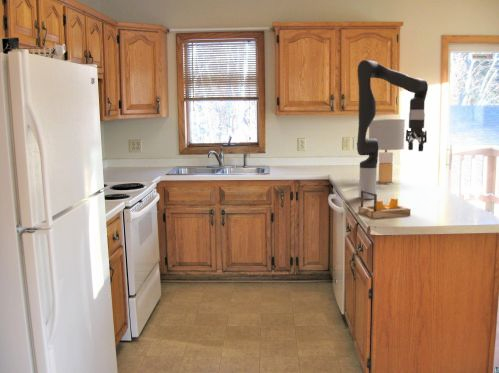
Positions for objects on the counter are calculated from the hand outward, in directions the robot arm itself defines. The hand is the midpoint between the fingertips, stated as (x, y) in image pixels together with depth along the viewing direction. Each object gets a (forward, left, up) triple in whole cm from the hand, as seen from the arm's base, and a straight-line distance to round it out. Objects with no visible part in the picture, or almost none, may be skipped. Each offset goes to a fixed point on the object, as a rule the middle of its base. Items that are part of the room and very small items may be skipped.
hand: (415, 150), depth 268 cm
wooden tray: (+15, -27, -28) cm, 42 cm away
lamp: (-75, +30, -28) cm, 86 cm away
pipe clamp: (+15, -27, -28) cm, 41 cm away
